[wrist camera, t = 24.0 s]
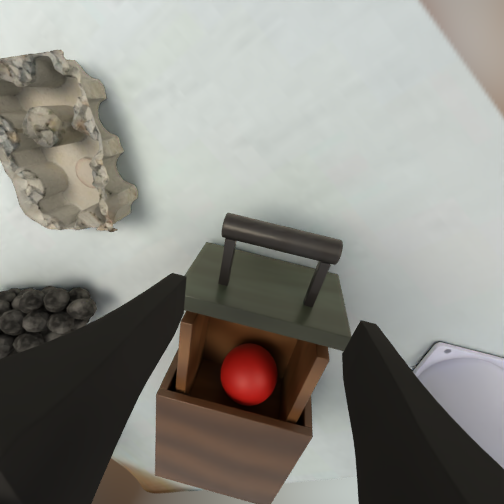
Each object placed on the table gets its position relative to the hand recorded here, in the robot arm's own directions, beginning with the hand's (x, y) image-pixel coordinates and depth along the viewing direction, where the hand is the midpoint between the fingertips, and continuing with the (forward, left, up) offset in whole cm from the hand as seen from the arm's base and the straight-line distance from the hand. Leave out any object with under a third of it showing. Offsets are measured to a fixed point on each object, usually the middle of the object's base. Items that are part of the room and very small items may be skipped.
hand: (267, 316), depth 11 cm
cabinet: (0, +20, -10) cm, 22 cm away
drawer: (0, +7, -10) cm, 12 cm away
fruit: (+20, +15, -11) cm, 28 cm away
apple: (-1, +13, -6) cm, 14 cm away
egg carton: (+15, -1, -11) cm, 19 cm away
